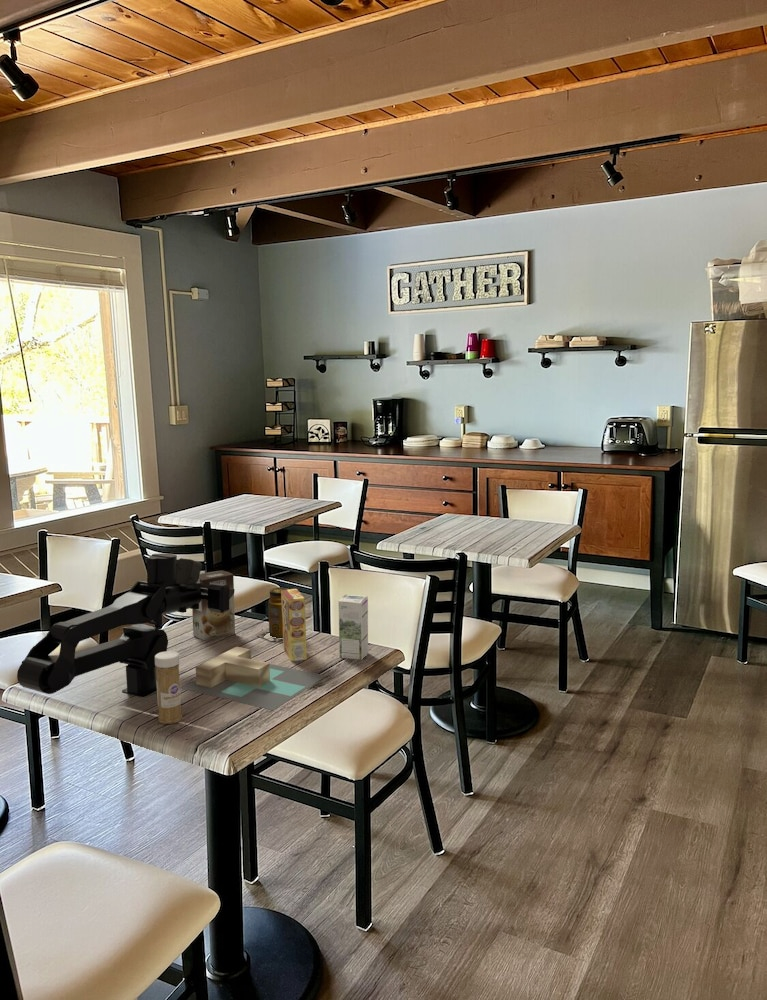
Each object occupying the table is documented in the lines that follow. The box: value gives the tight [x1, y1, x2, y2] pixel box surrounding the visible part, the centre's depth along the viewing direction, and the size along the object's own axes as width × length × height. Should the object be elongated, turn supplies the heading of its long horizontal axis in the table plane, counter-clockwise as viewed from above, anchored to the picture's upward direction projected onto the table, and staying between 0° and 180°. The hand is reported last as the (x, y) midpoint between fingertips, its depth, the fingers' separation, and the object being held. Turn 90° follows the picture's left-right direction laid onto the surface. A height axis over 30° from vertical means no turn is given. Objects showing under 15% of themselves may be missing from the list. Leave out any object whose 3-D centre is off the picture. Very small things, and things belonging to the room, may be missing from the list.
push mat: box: [181, 663, 327, 711], centre depth 169 cm, size 20×24×1 cm
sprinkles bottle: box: [155, 650, 183, 725], centre depth 151 cm, size 5×5×13 cm
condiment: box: [256, 587, 289, 641], centre depth 199 cm, size 7×8×12 cm
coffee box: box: [191, 570, 236, 641], centre depth 200 cm, size 9×6×16 cm
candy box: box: [281, 588, 308, 662], centre depth 185 cm, size 9×4×15 cm, turn 19°
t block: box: [195, 646, 271, 688], centre depth 171 cm, size 14×13×4 cm
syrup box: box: [338, 594, 369, 661], centre depth 184 cm, size 6×6×14 cm
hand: (218, 588), depth 185 cm, fingers open, 9 cm apart
